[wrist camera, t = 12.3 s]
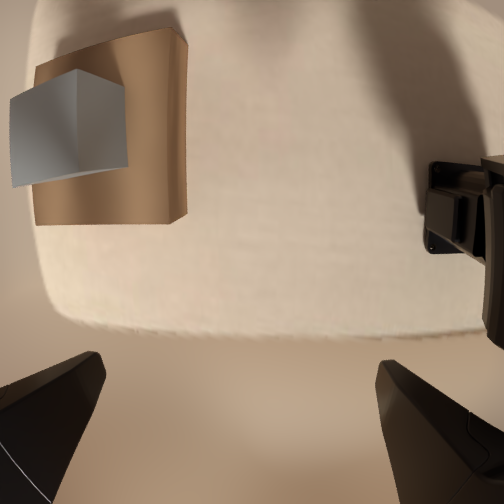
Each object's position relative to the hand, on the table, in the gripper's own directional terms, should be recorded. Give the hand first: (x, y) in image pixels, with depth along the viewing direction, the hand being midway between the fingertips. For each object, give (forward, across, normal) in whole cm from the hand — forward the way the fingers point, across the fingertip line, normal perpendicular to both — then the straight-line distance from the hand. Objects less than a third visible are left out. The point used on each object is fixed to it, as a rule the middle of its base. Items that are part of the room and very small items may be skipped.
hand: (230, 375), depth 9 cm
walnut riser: (+14, +10, -9) cm, 19 cm away
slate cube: (+10, +10, -9) cm, 16 cm away
